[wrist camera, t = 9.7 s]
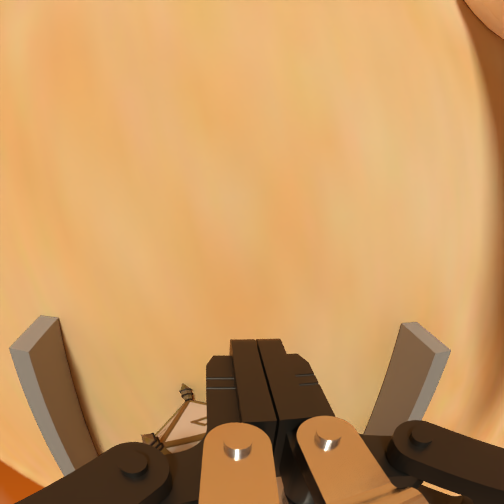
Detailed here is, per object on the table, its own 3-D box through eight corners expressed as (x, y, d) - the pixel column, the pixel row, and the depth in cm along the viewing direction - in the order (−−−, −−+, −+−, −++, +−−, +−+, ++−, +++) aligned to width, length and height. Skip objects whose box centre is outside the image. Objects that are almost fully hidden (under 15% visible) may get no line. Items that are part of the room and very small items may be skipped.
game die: (240, 393, 18) (305, 530, 12) (104, 421, 14) (164, 578, 8) (299, 315, 12) (412, 528, 6) (73, 353, 8) (180, 641, 2)
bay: (416, 322, 14) (451, 350, 11) (347, 490, 18) (360, 518, 15) (40, 315, 12) (8, 347, 9) (103, 495, 15) (97, 526, 12)
